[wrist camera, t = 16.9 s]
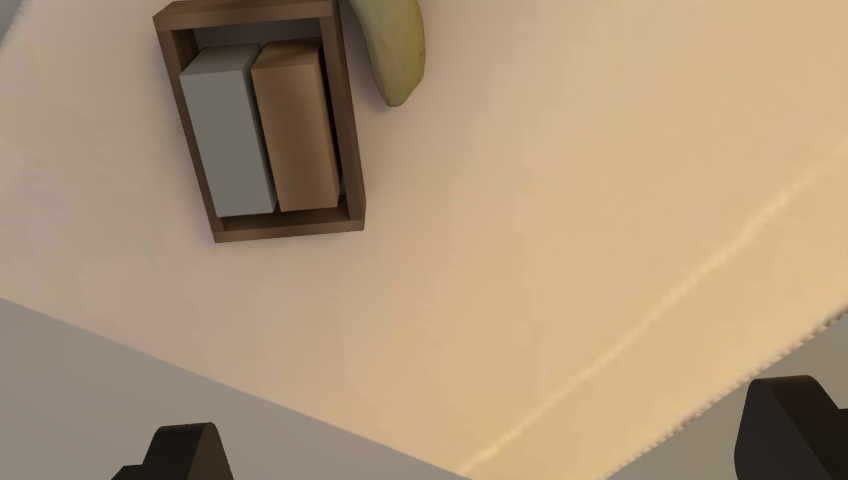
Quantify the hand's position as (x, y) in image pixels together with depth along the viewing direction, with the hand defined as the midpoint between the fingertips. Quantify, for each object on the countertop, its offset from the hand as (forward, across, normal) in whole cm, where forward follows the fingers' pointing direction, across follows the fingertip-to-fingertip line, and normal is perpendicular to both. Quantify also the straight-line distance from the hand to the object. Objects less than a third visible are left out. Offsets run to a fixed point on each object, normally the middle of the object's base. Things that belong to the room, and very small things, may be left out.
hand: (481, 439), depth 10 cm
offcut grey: (+36, +12, +7) cm, 39 cm away
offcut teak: (+36, +8, +7) cm, 38 cm away
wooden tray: (+36, +10, +7) cm, 38 cm away
